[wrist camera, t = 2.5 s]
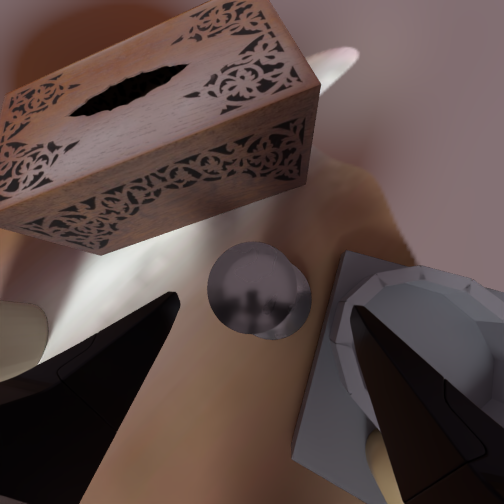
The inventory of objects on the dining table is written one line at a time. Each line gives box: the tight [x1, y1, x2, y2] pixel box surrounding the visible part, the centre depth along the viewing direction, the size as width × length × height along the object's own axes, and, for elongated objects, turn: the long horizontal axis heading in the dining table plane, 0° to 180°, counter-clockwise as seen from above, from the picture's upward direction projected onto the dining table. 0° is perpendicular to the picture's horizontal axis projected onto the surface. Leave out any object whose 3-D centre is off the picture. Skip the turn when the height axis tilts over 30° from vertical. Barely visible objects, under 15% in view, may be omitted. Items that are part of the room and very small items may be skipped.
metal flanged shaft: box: [207, 242, 312, 340], centre depth 13 cm, size 7×7×11 cm
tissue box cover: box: [0, 0, 321, 256], centre depth 19 cm, size 26×14×10 cm, turn 106°
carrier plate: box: [291, 250, 504, 504], centre depth 13 cm, size 16×12×4 cm
